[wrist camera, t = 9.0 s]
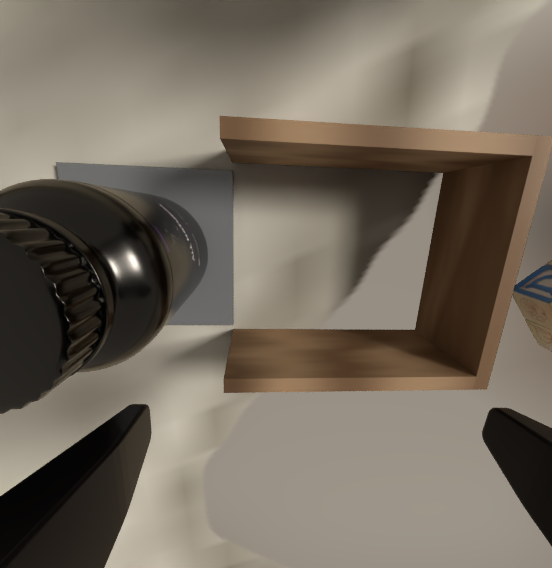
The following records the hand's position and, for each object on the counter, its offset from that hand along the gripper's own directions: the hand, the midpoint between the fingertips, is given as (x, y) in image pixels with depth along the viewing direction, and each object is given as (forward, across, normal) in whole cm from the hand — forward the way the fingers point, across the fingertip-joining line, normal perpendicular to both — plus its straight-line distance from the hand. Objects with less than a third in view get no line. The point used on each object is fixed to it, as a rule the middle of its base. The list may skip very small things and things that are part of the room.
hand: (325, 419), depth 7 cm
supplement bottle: (+12, +8, -2) cm, 15 cm away
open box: (+13, -4, -2) cm, 13 cm away
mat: (+12, +8, -2) cm, 15 cm away
